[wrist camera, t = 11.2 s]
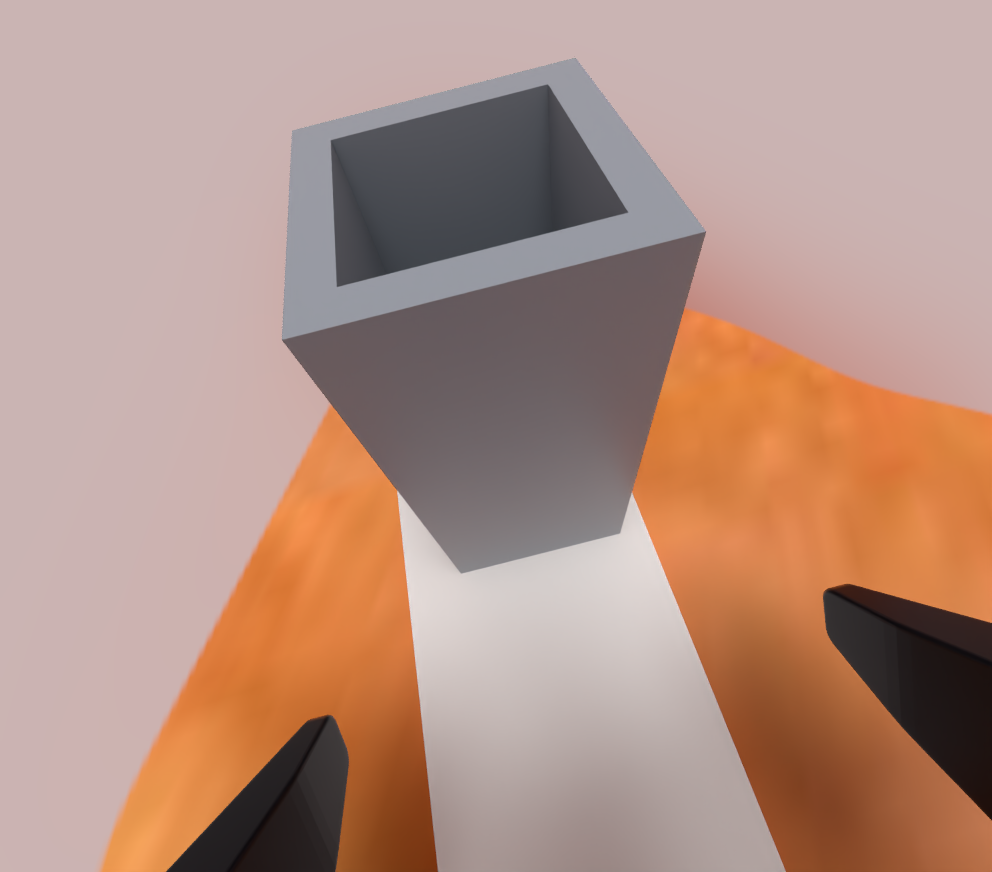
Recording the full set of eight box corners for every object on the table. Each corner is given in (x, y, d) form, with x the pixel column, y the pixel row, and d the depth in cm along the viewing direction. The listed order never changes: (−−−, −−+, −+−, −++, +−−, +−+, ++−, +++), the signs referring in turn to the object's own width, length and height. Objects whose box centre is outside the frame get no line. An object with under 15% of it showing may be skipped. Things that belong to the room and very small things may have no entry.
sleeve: (619, 533, 17) (706, 231, 6) (461, 573, 17) (281, 339, 6) (571, 404, 20) (575, 57, 10) (437, 438, 20) (292, 130, 10)
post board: (773, 877, 13) (878, 961, 9) (461, 955, 13) (406, 1078, 9) (579, 384, 22) (581, 303, 18) (399, 430, 22) (357, 360, 18)
